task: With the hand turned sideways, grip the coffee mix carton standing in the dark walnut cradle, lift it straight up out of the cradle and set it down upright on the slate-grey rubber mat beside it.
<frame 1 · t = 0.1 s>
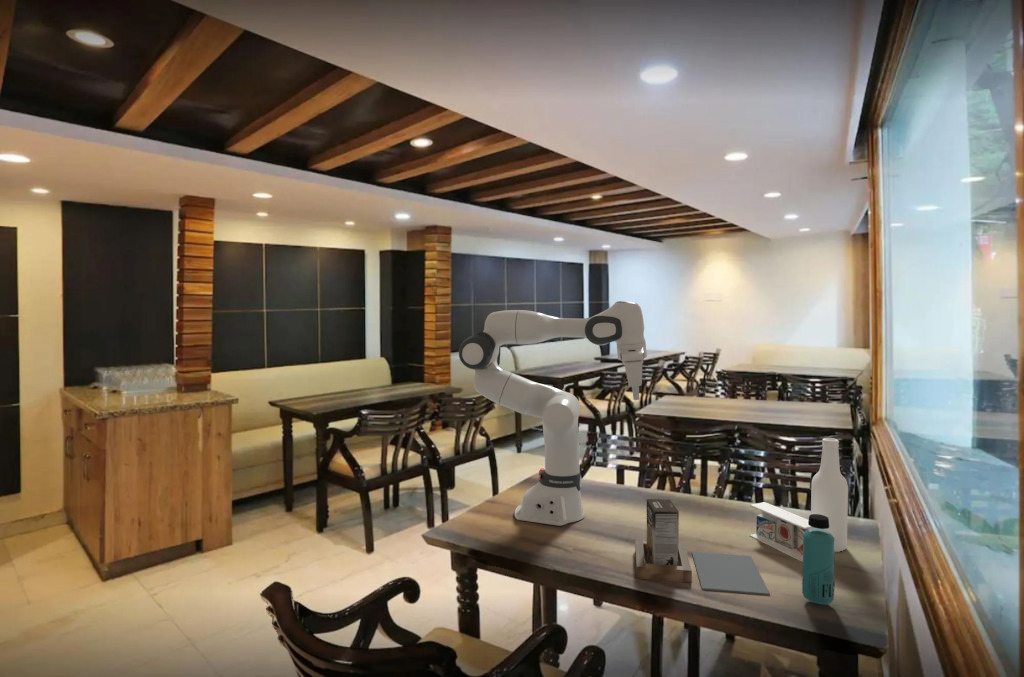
hand: (636, 397, 175), 39 cm above the table, tool pointing down, fingers open, 8 cm apart
cigarette display: (784, 548, 156), on the table
beverage bottle: (817, 604, 127), on the table
walnut cradle: (661, 565, 146), on the table
alcohol: (828, 546, 157), on the table
coffee box: (661, 566, 146), resting in walnut cradle
rubber mat: (727, 572, 142), on the table
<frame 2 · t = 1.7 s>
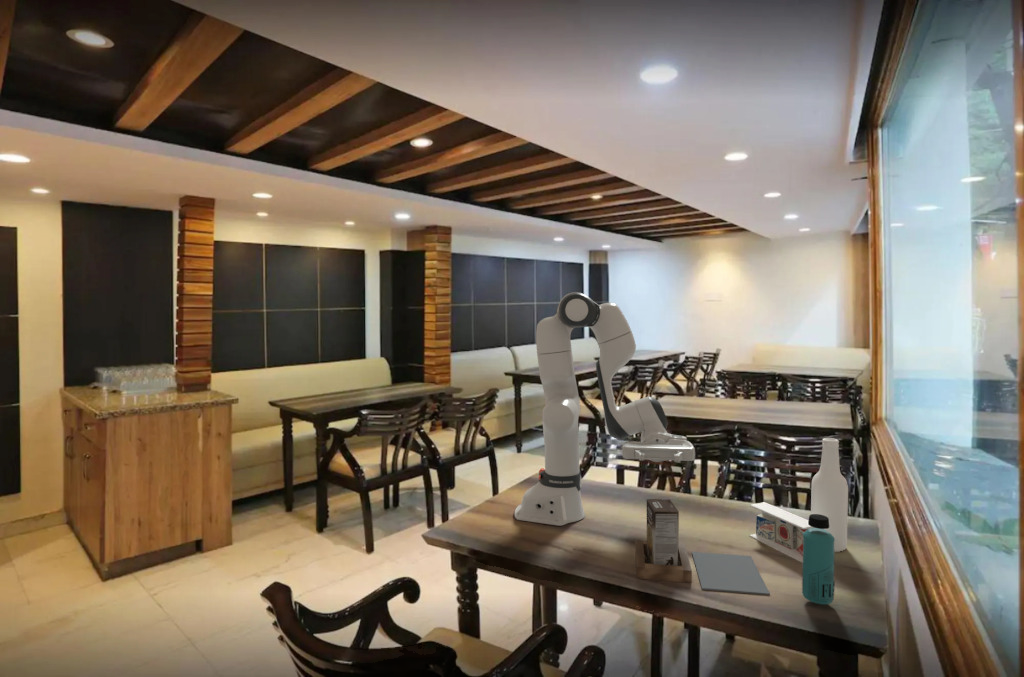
hand: (659, 458, 156), 25 cm above the table, tool horizontal, fingers open, 8 cm apart
nothing on the table moved.
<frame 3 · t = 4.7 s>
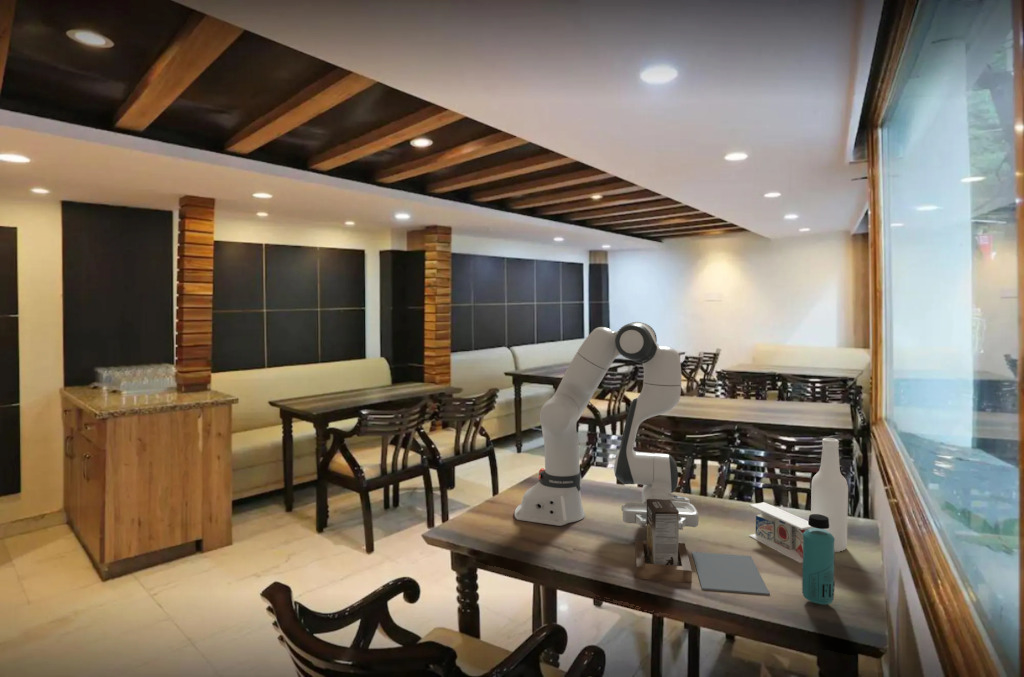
hand: (661, 525, 149), 9 cm above the table, tool horizontal, fingers open, 8 cm apart
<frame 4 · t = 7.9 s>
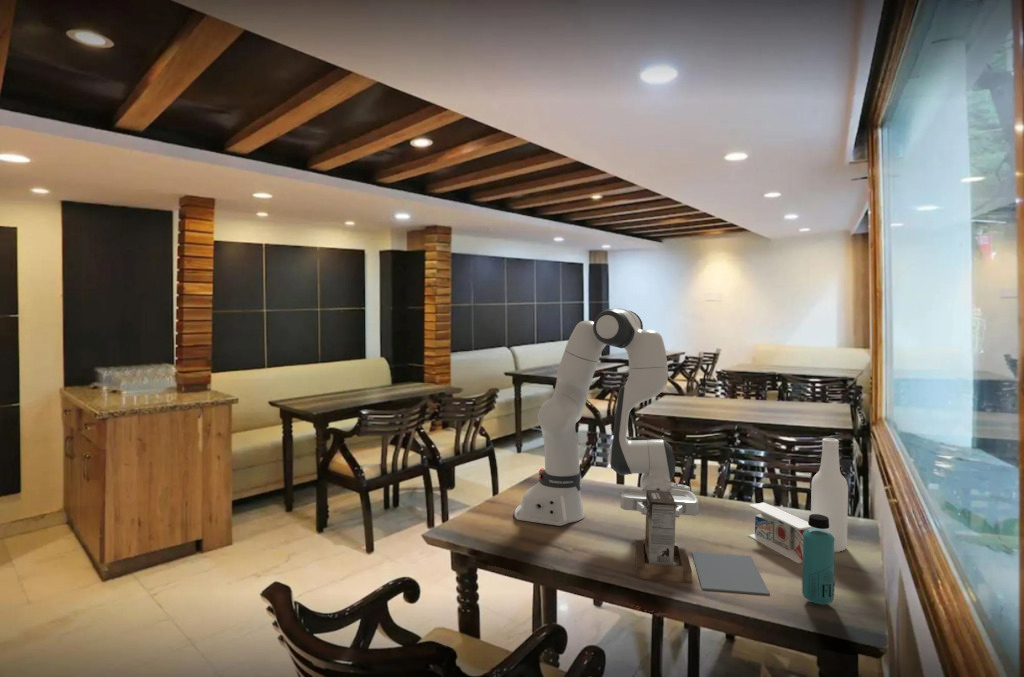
hand: (660, 513, 144), 14 cm above the table, tool horizontal, fingers closed on coffee box, 6 cm apart
coffee box: (658, 557, 146), point 2 cm above the table, touching gripper
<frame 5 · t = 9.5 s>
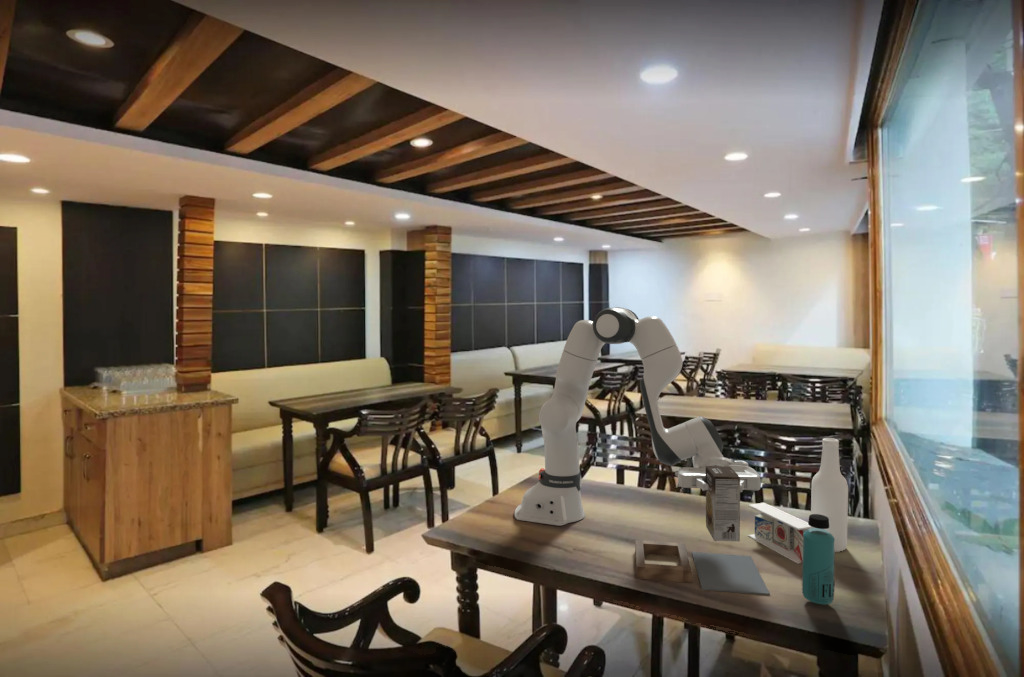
hand: (722, 488, 140), 22 cm above the table, tool horizontal, fingers closed on coffee box, 6 cm apart
coffee box: (722, 534, 141), point 10 cm above the table, touching gripper
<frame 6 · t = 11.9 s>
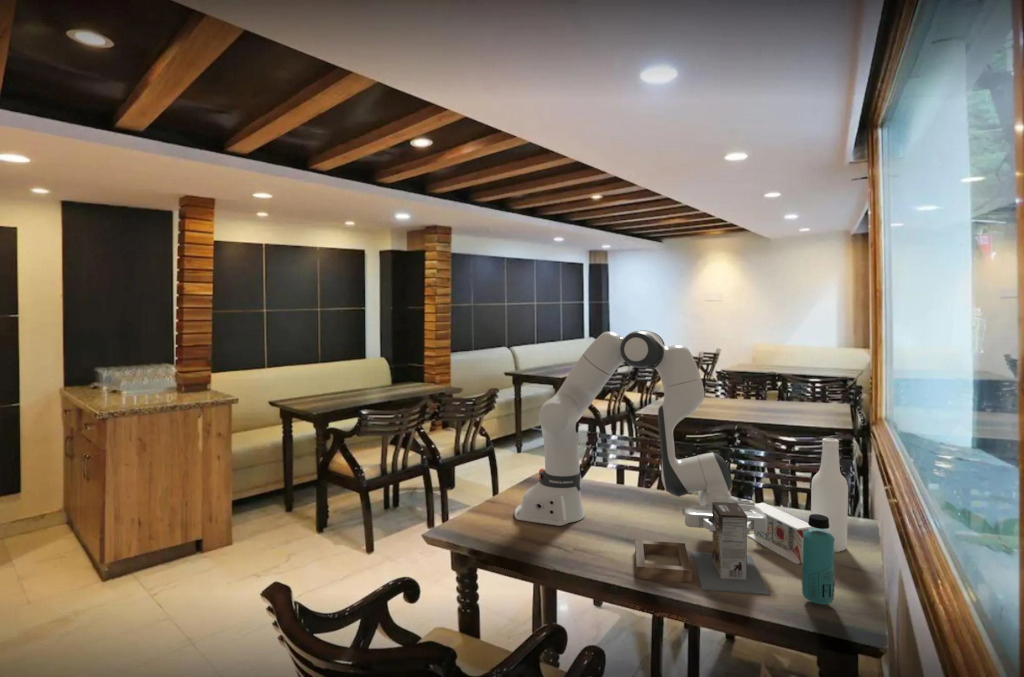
hand: (729, 530, 140), 11 cm above the table, tool horizontal, fingers closed on coffee box, 6 cm apart
coffee box: (729, 571, 142), resting on rubber mat, touching gripper
when the fingers open (11 cm above the table, at t = 12.2 s): coffee box stays where it is, resting on rubber mat.
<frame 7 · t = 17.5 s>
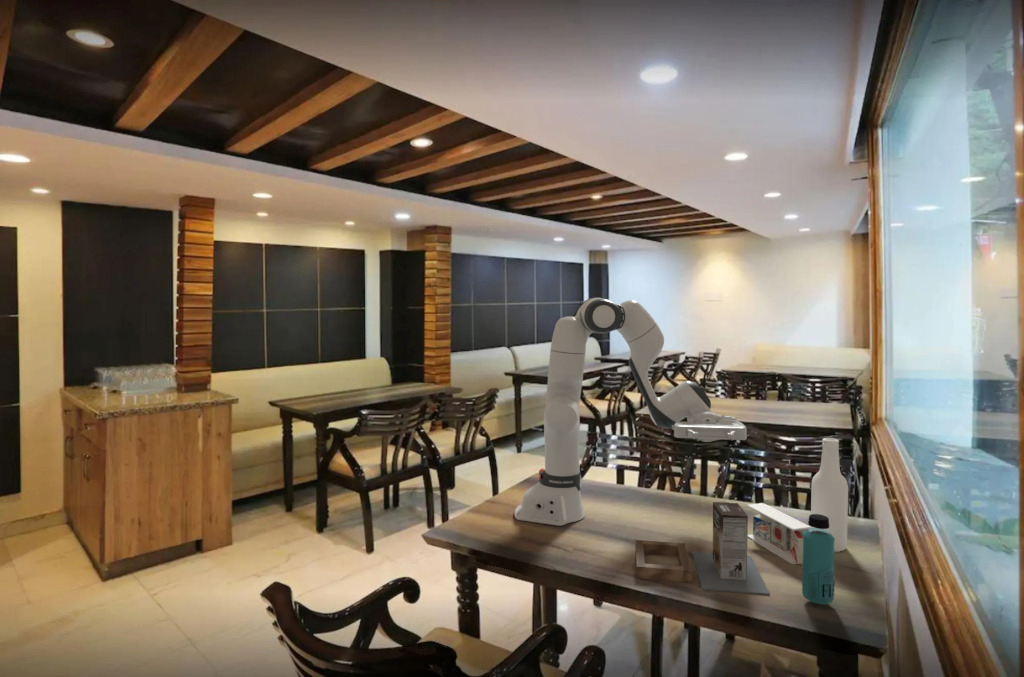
hand: (713, 436, 159), 30 cm above the table, tool horizontal, fingers open, 8 cm apart
coffee box: (729, 571, 142), resting on rubber mat
at the end: coffee box inside the target area (0.3 cm from its centre), resting on rubber mat; coffee box tilted 0°; the gripper is holding nothing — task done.
